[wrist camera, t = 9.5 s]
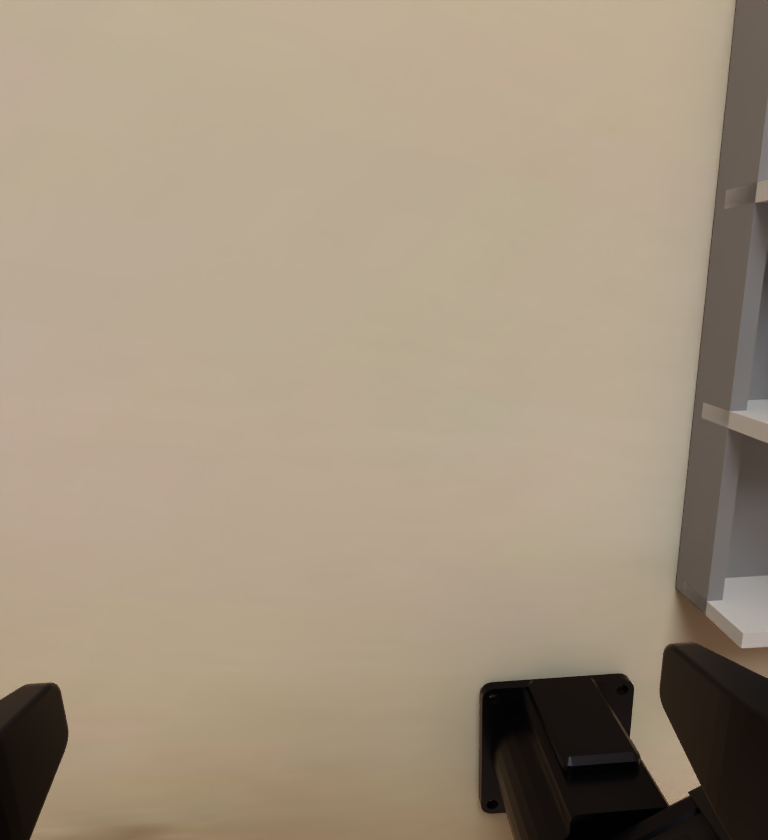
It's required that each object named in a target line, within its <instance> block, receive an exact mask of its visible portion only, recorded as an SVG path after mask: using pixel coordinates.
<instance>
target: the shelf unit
mask: <svg viewBox="0 0 768 840" xmlns="http://www.w3.org/2000/svg"><path fill="white" fill-rule="evenodd" d="M676 588H677V589H678V590H679V591H680V592H681V593H682V594H683V595H684V596H685V597H687V598H688V599H689V600H690V601H691V602H692V603H693V604H694V605H695V606H696V607H697V608H698V609H699V610H700V611H701V612H703V613H704V614H705V615H706V616H707V617H708V618H709V619H710V620H711V621H712V622H713V623H714V624H715V625H716V626H717V627H719V628H720V629H721V630H722V631H723V632H724V633H725V634H726V635H727V636H728V637H729V638H730V639H731V640H732V641H733V642H735V643H736V644H737V645H738V646H739V647H740V648H741V649H743V648H757V647H768V0H737V3H736V13H735V23H734V32H733V42H732V51H731V61H730V70H729V80H728V90H727V99H726V109H725V118H724V128H723V138H722V147H721V157H720V166H719V176H718V186H717V195H716V205H715V214H714V224H713V234H712V243H711V253H710V262H709V272H708V282H707V291H706V301H705V310H704V320H703V330H702V339H701V349H700V358H699V368H698V378H697V387H696V397H695V406H694V416H693V426H692V435H691V445H690V454H689V464H688V474H687V483H686V493H685V502H684V512H683V522H682V531H681V541H680V550H679V560H678V570H677V579H676Z"/></svg>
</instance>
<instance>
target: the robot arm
mask: <svg viewBox="0 0 768 840" xmlns="http://www.w3.org/2000/svg"><path fill="white" fill-rule="evenodd" d="M621 685H623V686H622V687H621V688H618V687H619V686H621ZM617 688H618V689H617ZM492 694H497V695H496V696H495V697H492V698H491V697H489V696H490V695H492ZM633 694H634V686H633V684H632V683H631V681H630V680H629V679H628V677H627V676H626V675H624V674H605V675H590V676H576V677H561V678H547V679H533V680H518V681H504V682H491V683H487V684H486V685H484V686H483V687H482V689H481V692H480V759H479V799H480V803H481V807H482V809H483V811H484V812H486V813H505V812H506V813H507V817H508V820H509V824H510V827H511V831H512V834H513V837H514V840H768V679H767V678H765V677H763V676H761V675H759V674H757V673H755V672H753V671H751V670H749V669H747V668H745V667H743V666H741V665H739V664H737V663H735V662H733V661H731V660H729V659H727V658H725V657H723V656H721V655H719V654H717V653H715V652H713V651H711V650H709V649H707V648H705V647H703V646H701V645H699V644H696V643H675V644H669V645H668V646H666V648H665V650H664V653H663V661H662V671H661V680H660V698H661V702H662V705H663V708H664V710H665V712H666V714H667V716H668V718H669V720H670V723H671V725H672V727H673V729H674V731H675V733H676V735H677V737H678V739H679V741H680V743H681V745H682V747H683V749H684V751H685V753H686V755H687V757H688V759H689V761H690V764H691V766H692V768H693V770H694V772H695V774H696V776H697V778H698V780H699V782H700V784H701V786H699V787H697V788H695V789H693V790H691V791H689V792H688V793H689V796H687V797H685V798H684V799H682V800H680V801H678V802H676V803H674V804H672V805H670V806H669V804H668V802H667V801H666V799H665V797H664V796H663V794H662V793H661V791H660V789H659V788H658V786H657V784H656V783H655V781H654V779H653V778H652V776H651V774H650V773H649V771H648V770H647V768H646V766H645V765H644V763H643V761H642V760H641V758H640V754H639V752H638V751H637V749H636V747H635V746H634V744H633V742H632V741H631V739H630V728H631V717H632V706H633ZM67 741H68V725H67V720H66V715H65V710H64V705H63V700H62V695H61V691H60V688H59V687H58V685H57V684H55V683H35V684H27V685H24V686H22V687H20V688H19V689H17V690H15V691H14V692H12V693H11V694H9V695H7V696H6V697H4V698H2V699H1V700H0V840H30V838H31V835H32V833H33V830H34V828H35V825H36V822H37V820H38V817H39V815H40V812H41V810H42V807H43V805H44V802H45V800H46V797H47V795H48V792H49V790H50V787H51V785H52V782H53V779H54V777H55V774H56V772H57V769H58V767H59V764H60V762H61V759H62V757H63V754H64V752H65V749H66V746H67ZM490 800H492V801H490Z"/></svg>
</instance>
